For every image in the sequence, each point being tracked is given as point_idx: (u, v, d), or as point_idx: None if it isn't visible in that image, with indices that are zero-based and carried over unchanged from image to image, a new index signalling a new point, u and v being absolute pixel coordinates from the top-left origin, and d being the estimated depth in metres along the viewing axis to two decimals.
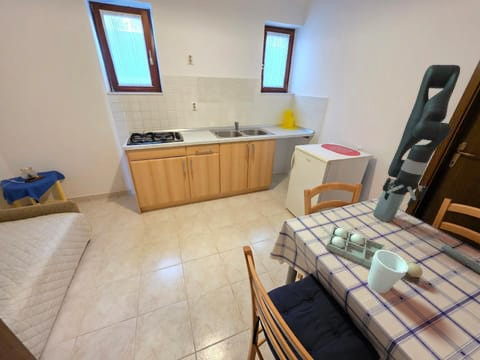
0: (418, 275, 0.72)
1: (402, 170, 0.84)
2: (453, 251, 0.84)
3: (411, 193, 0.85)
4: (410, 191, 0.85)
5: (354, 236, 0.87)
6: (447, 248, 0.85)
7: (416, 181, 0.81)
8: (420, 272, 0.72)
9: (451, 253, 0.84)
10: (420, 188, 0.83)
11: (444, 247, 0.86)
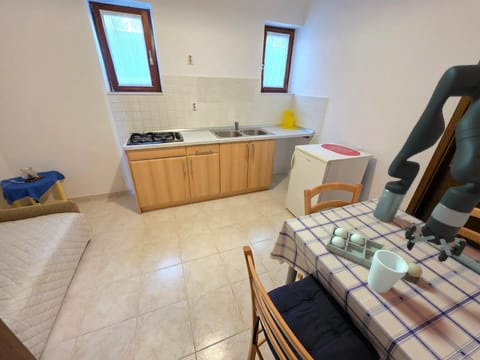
0: (418, 275, 0.72)
1: (434, 218, 0.63)
2: None
3: (445, 247, 0.64)
4: (444, 244, 0.64)
5: (354, 236, 0.87)
6: None
7: (453, 234, 0.61)
8: (420, 272, 0.72)
9: None
10: (458, 242, 0.63)
11: None
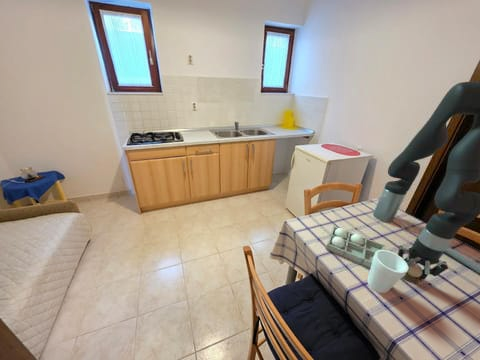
0: (418, 275, 0.72)
1: (419, 241, 0.68)
2: (453, 251, 0.84)
3: (427, 268, 0.70)
4: (427, 265, 0.69)
5: (354, 236, 0.87)
6: (447, 248, 0.85)
7: (437, 257, 0.66)
8: (420, 272, 0.72)
9: (451, 253, 0.84)
10: (440, 264, 0.68)
11: None
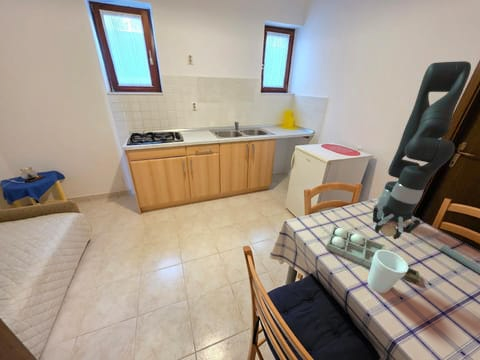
0: (392, 233, 0.71)
1: (392, 197, 0.67)
2: (452, 252, 0.84)
3: (400, 224, 0.68)
4: (400, 222, 0.68)
5: (354, 236, 0.87)
6: (446, 249, 0.85)
7: (409, 211, 0.64)
8: (394, 230, 0.70)
9: (450, 254, 0.84)
10: (413, 220, 0.67)
11: (443, 248, 0.86)
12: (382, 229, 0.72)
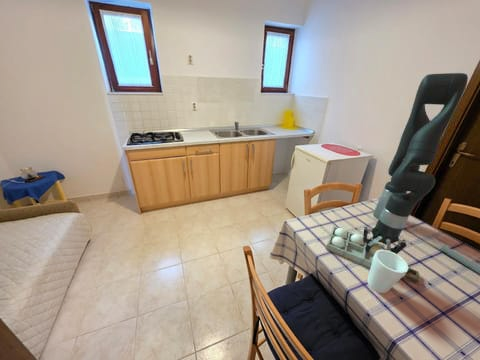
0: None
1: (380, 220, 0.72)
2: (452, 252, 0.84)
3: (388, 246, 0.73)
4: (388, 244, 0.73)
5: (354, 236, 0.87)
6: (446, 249, 0.85)
7: (396, 235, 0.69)
8: None
9: (450, 254, 0.84)
10: (400, 242, 0.72)
11: (443, 248, 0.86)
12: (372, 249, 0.77)
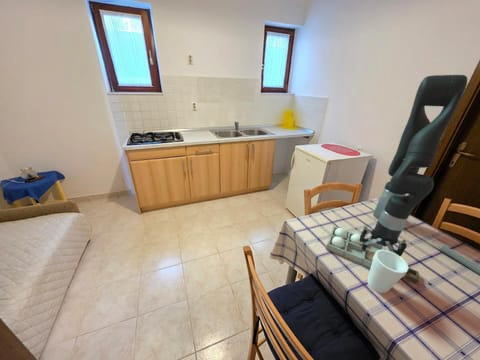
0: None
1: (379, 223, 0.72)
2: (452, 252, 0.83)
3: (389, 248, 0.73)
4: (388, 246, 0.73)
5: (354, 236, 0.87)
6: (446, 249, 0.85)
7: (395, 237, 0.70)
8: None
9: (450, 254, 0.84)
10: (400, 243, 0.72)
11: (443, 248, 0.86)
12: (368, 257, 0.79)
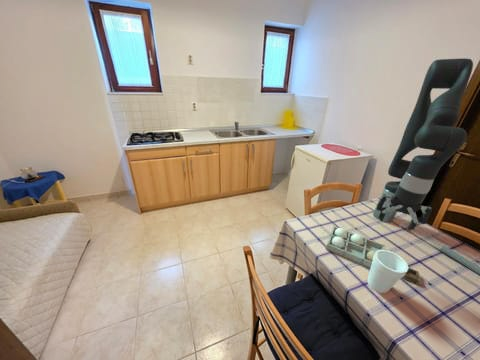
0: None
1: (401, 187, 0.66)
2: (452, 252, 0.83)
3: (412, 215, 0.67)
4: (411, 213, 0.67)
5: (354, 236, 0.87)
6: (446, 249, 0.85)
7: (418, 202, 0.63)
8: None
9: (450, 254, 0.84)
10: (424, 209, 0.66)
11: (443, 248, 0.86)
12: (368, 257, 0.79)
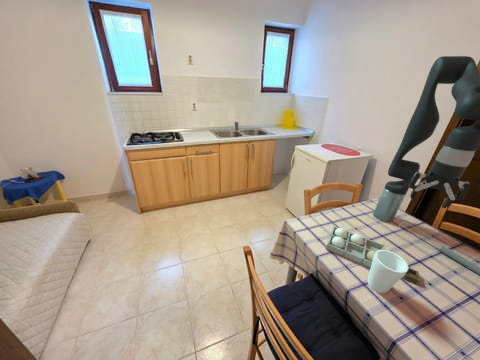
0: None
1: (438, 161, 0.64)
2: (452, 253, 0.83)
3: (449, 191, 0.65)
4: (447, 189, 0.65)
5: (354, 236, 0.87)
6: (446, 250, 0.85)
7: (457, 176, 0.61)
8: None
9: (450, 255, 0.83)
10: (462, 185, 0.63)
11: (443, 249, 0.85)
12: (368, 257, 0.79)
